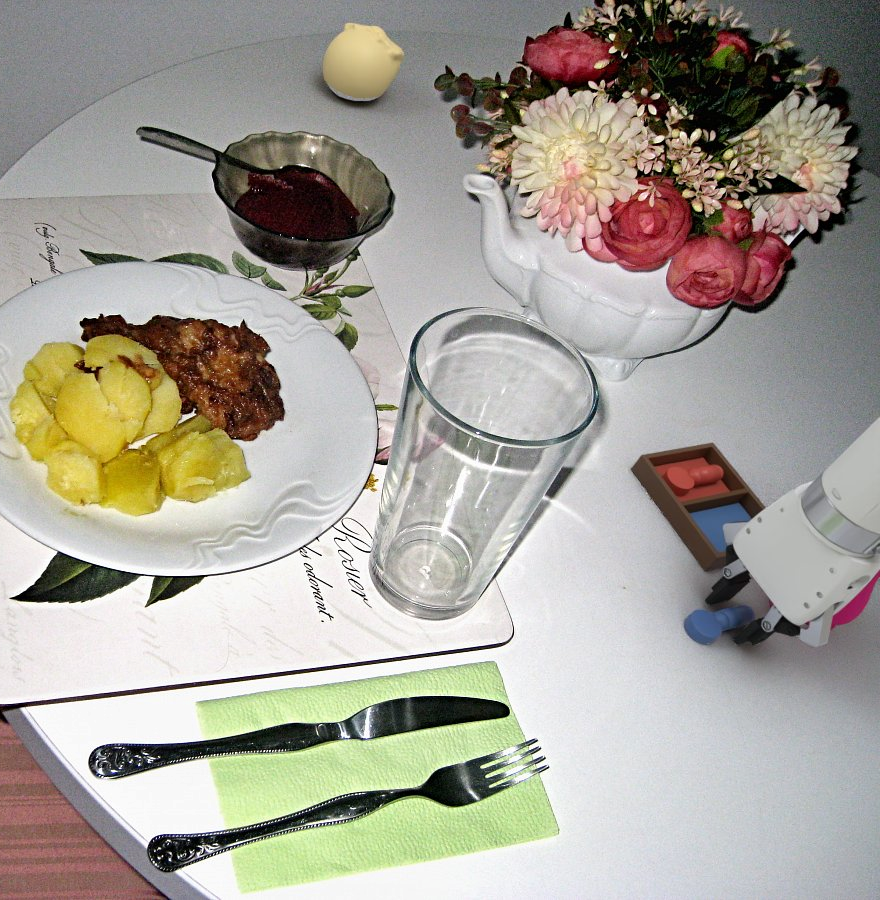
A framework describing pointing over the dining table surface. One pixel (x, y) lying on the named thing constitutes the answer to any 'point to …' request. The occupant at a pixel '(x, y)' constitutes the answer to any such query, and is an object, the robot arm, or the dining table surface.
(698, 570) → the dining table surface
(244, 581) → the dining table surface
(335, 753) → the dining table surface
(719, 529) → the blue pad
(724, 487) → the red pad
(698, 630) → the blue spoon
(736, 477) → the divided wooden tray
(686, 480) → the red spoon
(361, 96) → the sculpture
